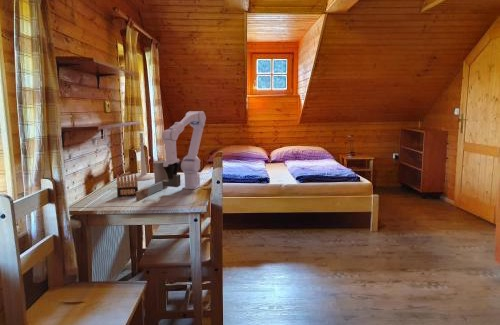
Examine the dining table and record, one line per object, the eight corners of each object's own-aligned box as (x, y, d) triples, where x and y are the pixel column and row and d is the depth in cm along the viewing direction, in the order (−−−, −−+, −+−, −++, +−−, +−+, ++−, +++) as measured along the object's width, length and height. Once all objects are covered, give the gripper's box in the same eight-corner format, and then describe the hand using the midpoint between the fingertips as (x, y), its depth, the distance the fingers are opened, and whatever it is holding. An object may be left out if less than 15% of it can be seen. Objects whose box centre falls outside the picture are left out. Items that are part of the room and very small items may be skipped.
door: (161, 188, 216) (160, 181, 215) (162, 188, 215) (162, 181, 215) (146, 195, 201) (146, 187, 200) (148, 195, 200) (147, 187, 200)
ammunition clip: (117, 197, 199) (115, 174, 197) (117, 196, 201) (116, 174, 199) (138, 196, 201) (136, 173, 199) (138, 195, 203) (137, 173, 201)
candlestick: (136, 181, 239) (132, 133, 234) (132, 177, 250) (128, 132, 245) (156, 179, 245) (153, 132, 240) (151, 175, 256) (148, 131, 251)
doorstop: (180, 185, 204) (180, 174, 203) (177, 187, 200) (176, 176, 199) (166, 184, 206) (166, 173, 205) (163, 186, 202) (163, 175, 201)
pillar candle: (173, 181, 235) (171, 157, 232) (168, 185, 225) (166, 160, 223) (157, 182, 236) (156, 158, 233) (152, 185, 226) (150, 160, 224)
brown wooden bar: (165, 187, 220) (164, 178, 219) (167, 187, 220) (166, 178, 219) (136, 200, 192) (135, 190, 191) (138, 200, 191) (138, 191, 190)
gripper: (170, 150, 208) (172, 174, 210) (157, 154, 194) (158, 180, 196) (182, 150, 206) (183, 175, 208) (169, 154, 192) (171, 180, 194)
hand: (172, 177), depth 202 cm, fingers closed on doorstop, 4 cm apart
